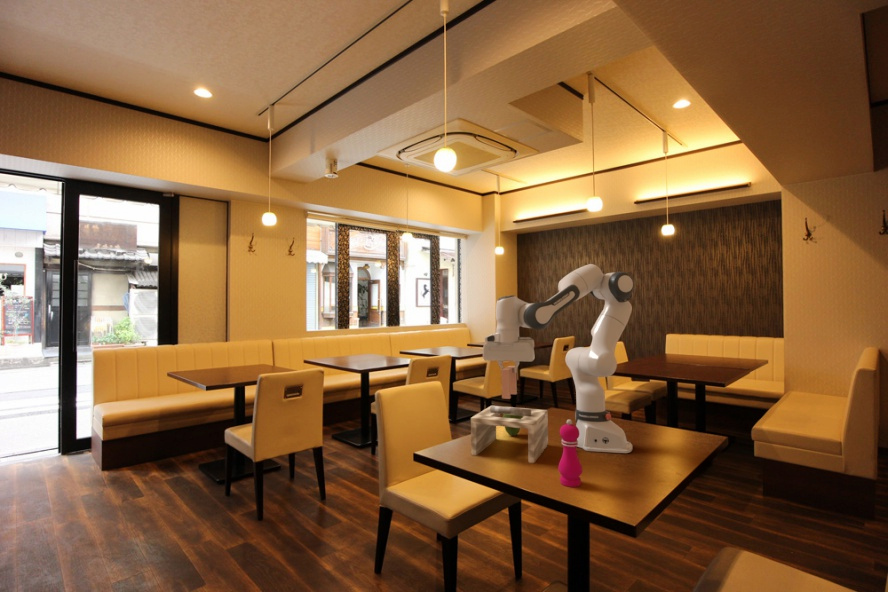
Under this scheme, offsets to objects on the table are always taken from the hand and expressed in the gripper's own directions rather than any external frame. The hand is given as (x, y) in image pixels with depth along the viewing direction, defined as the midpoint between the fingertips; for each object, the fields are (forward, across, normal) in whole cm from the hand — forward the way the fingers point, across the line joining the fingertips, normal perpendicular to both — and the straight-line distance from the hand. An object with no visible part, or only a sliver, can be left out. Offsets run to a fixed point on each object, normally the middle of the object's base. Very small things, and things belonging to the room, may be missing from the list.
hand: (508, 372), depth 177 cm
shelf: (+30, +1, -2) cm, 30 cm away
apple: (+31, +6, -22) cm, 38 cm away
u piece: (+9, 0, 0) cm, 9 cm away
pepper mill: (+31, -26, +25) cm, 47 cm away
